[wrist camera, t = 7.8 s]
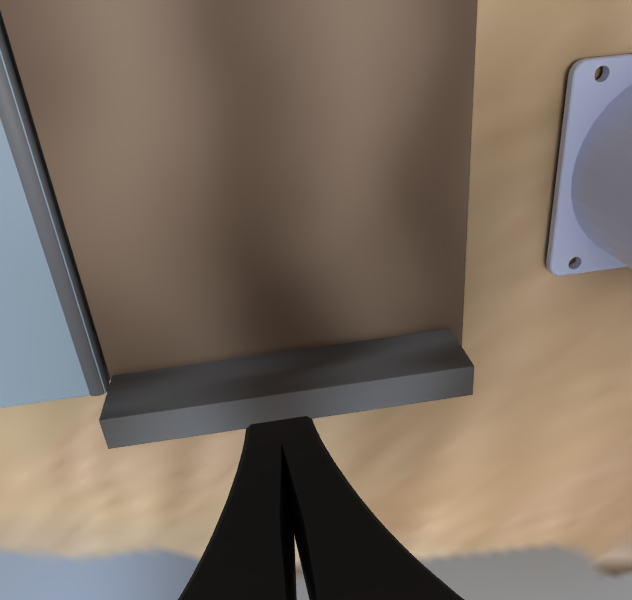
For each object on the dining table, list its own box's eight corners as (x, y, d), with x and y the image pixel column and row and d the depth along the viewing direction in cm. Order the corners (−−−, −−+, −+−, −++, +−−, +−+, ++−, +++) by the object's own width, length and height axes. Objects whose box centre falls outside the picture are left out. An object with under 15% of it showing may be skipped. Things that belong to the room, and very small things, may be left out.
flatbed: (464, -349, 15) (549, -471, 11) (444, 327, 24) (486, 392, 20) (-70, -325, 14) (-189, -450, 10) (125, 371, 23) (105, 449, 19)
